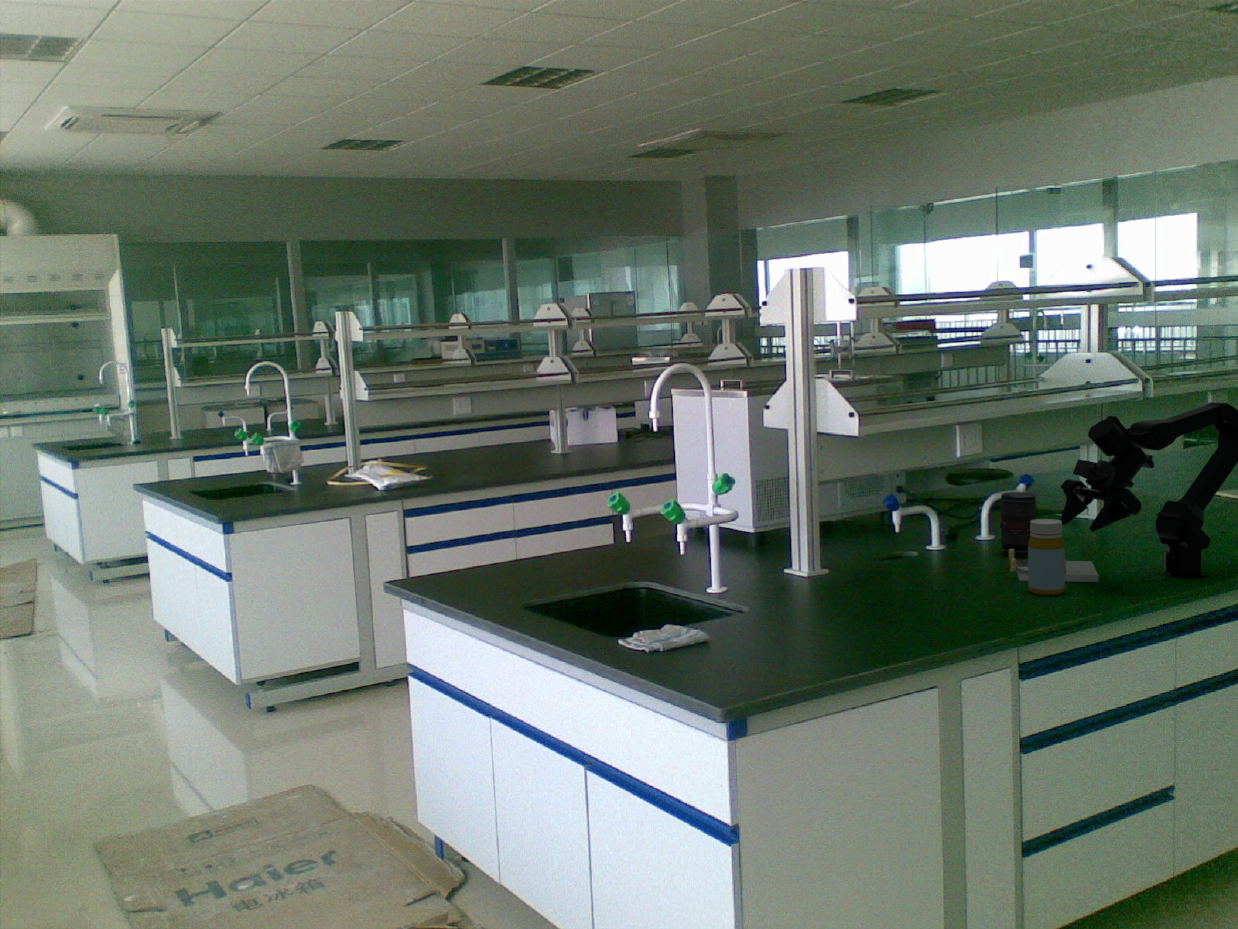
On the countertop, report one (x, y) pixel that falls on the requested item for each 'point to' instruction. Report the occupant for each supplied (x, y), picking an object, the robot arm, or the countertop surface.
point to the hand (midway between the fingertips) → (1075, 527)
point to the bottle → (1046, 557)
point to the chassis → (1073, 570)
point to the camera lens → (1016, 522)
